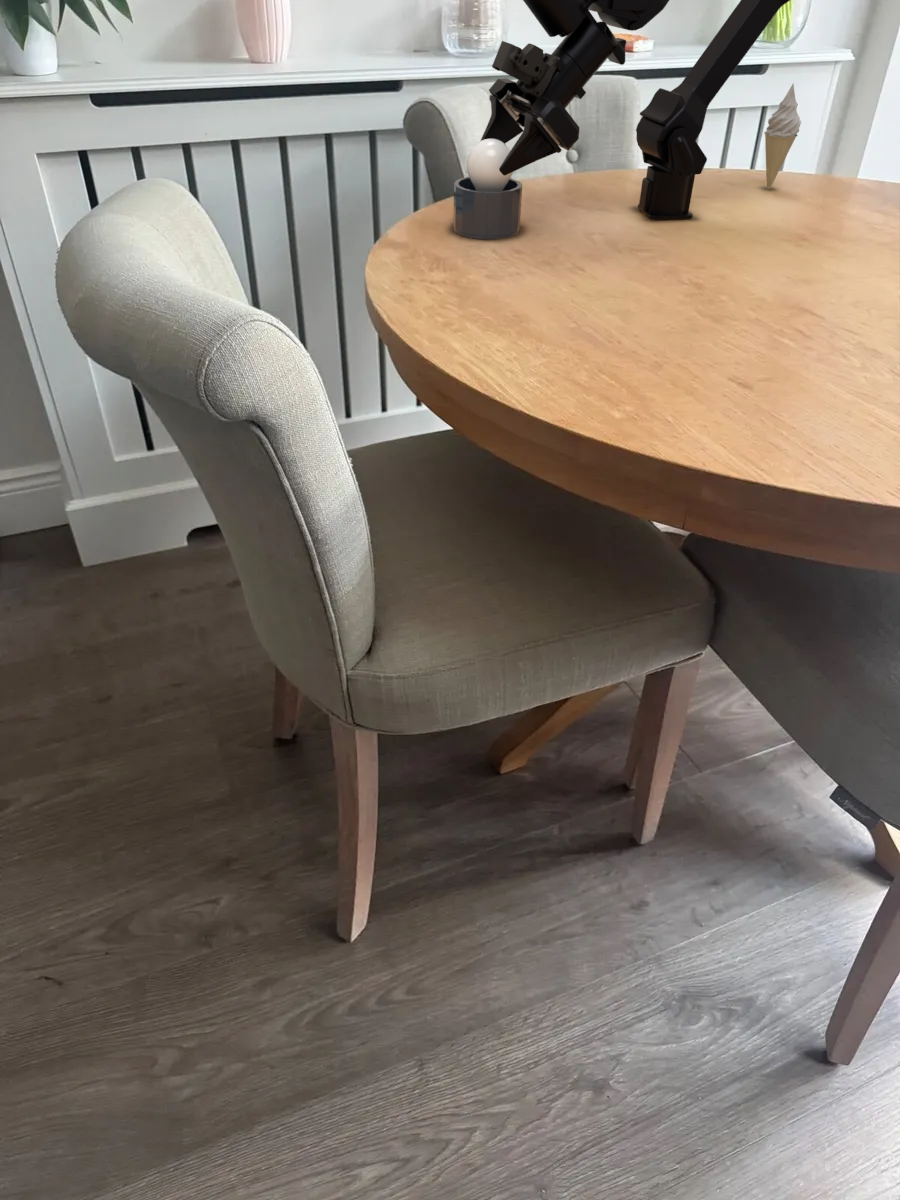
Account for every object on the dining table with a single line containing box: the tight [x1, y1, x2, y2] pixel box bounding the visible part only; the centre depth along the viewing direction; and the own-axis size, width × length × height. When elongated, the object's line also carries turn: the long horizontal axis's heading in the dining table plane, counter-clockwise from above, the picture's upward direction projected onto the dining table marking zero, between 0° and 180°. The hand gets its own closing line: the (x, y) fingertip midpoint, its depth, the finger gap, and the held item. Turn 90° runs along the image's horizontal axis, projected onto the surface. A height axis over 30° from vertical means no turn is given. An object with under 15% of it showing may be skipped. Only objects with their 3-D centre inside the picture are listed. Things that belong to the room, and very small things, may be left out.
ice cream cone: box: [763, 83, 802, 190], centre depth 137 cm, size 5×5×15 cm
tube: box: [452, 176, 523, 241], centre depth 121 cm, size 9×9×6 cm
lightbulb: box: [466, 138, 513, 192], centre depth 119 cm, size 6×6×11 cm
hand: (488, 164), depth 117 cm, fingers open, 9 cm apart
